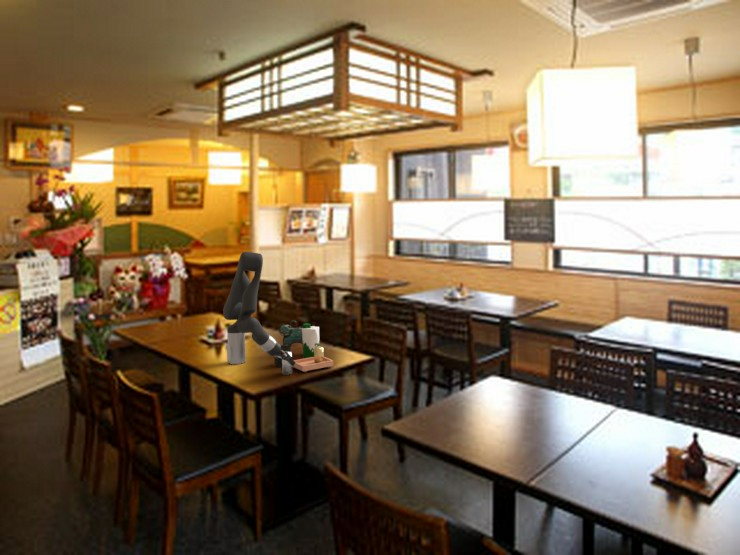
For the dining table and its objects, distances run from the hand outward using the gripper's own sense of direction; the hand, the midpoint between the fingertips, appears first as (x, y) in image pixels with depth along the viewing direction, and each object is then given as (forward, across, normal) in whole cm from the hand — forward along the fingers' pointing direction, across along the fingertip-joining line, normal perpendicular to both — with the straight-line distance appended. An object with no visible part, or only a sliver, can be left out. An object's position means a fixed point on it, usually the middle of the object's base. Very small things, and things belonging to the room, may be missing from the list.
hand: (289, 362), depth 276 cm
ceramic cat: (+22, +28, -14) cm, 38 cm away
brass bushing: (+14, -2, -10) cm, 18 cm away
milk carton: (+21, +13, -13) cm, 28 cm away
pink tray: (+13, -2, -6) cm, 15 cm away
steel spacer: (+3, 0, +5) cm, 5 cm away
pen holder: (+8, +15, -1) cm, 17 cm away
